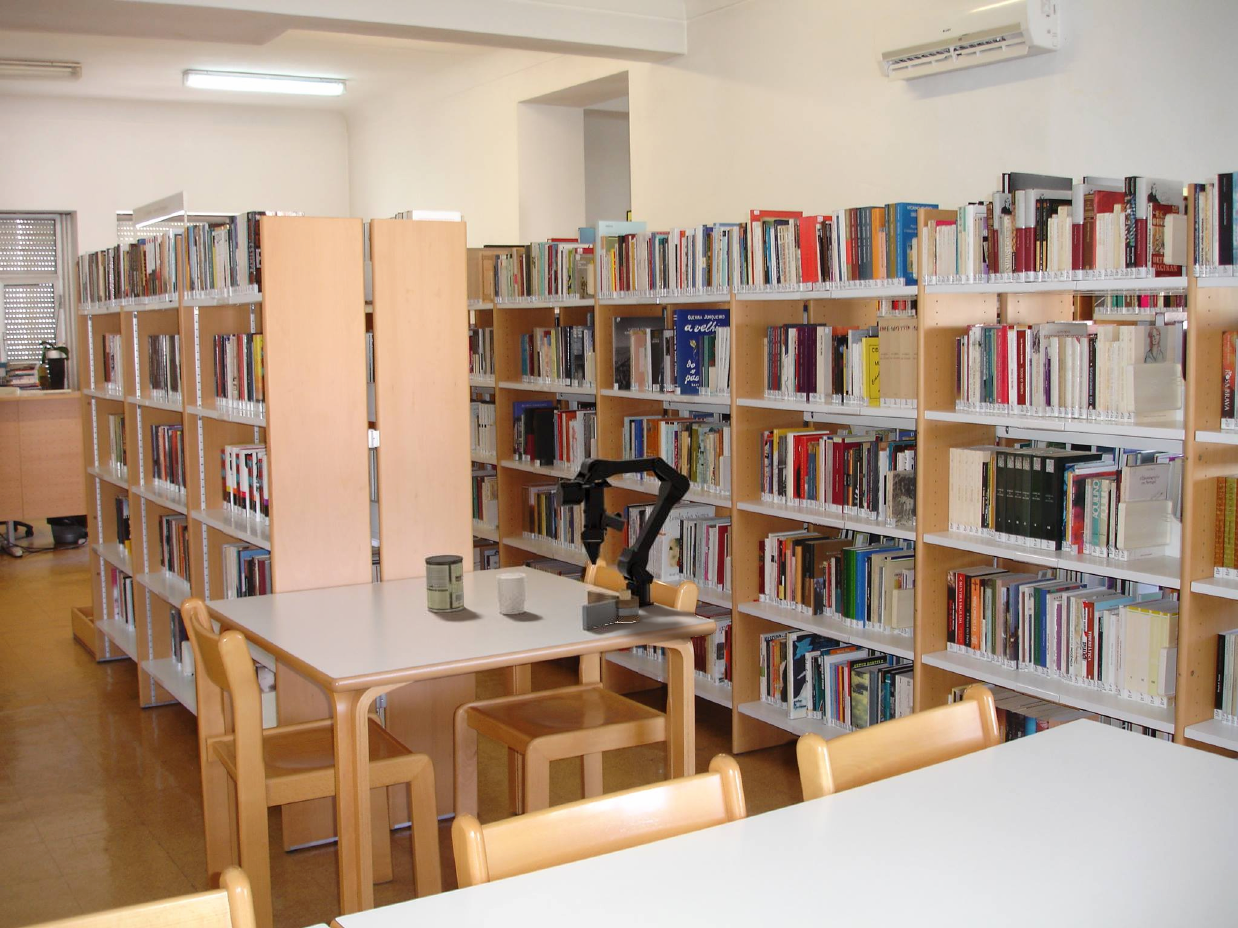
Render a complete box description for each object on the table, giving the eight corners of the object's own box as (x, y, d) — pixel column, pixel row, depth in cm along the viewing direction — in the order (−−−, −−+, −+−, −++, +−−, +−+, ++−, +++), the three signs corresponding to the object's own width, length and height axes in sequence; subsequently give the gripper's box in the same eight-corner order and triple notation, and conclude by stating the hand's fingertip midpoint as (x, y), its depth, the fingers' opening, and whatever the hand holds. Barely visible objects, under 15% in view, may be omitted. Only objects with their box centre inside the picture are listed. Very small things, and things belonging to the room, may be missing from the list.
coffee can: (431, 604, 331) (430, 554, 330) (468, 604, 330) (466, 554, 328) (422, 612, 321) (420, 561, 319) (459, 612, 320) (458, 561, 318)
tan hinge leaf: (644, 620, 307) (643, 597, 306) (624, 624, 302) (624, 601, 301) (599, 610, 319) (599, 588, 319) (580, 614, 315) (579, 592, 314)
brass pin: (625, 618, 309) (625, 588, 308) (633, 620, 307) (633, 590, 306) (617, 620, 307) (616, 590, 306) (625, 622, 305) (624, 591, 304)
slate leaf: (626, 616, 312) (625, 593, 311) (644, 620, 307) (643, 597, 306) (575, 627, 300) (575, 604, 299) (593, 631, 295) (593, 608, 294)
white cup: (500, 616, 315) (499, 579, 314) (495, 610, 322) (494, 573, 321) (529, 613, 317) (528, 577, 316) (523, 607, 324) (522, 572, 323)
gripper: (622, 508, 309) (623, 567, 310) (625, 500, 327) (626, 555, 329) (580, 509, 309) (581, 568, 311) (585, 500, 328) (586, 556, 329)
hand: (595, 561), depth 320 cm, fingers open, 9 cm apart
